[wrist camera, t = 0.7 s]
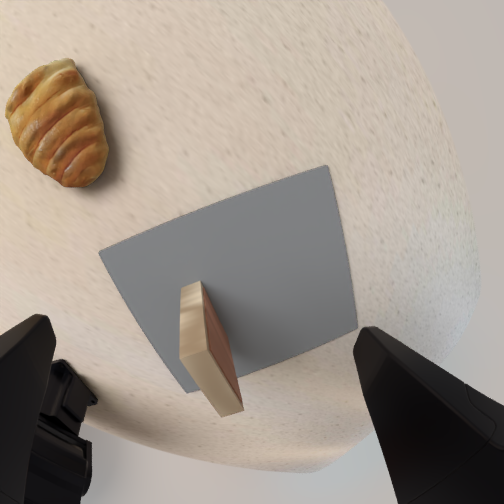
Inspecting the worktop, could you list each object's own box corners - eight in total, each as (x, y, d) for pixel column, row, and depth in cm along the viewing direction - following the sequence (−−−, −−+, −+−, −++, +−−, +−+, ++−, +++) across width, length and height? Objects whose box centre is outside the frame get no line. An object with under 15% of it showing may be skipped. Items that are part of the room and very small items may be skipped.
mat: (186, 390, 26) (186, 393, 26) (99, 250, 20) (98, 252, 19) (356, 325, 27) (357, 328, 27) (325, 165, 21) (327, 165, 20)
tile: (210, 344, 24) (221, 417, 17) (180, 287, 22) (179, 358, 14) (228, 337, 24) (245, 410, 17) (201, 280, 22) (208, 348, 15)
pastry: (136, 147, 18) (123, 149, 15) (69, 206, 18) (47, 220, 15) (73, 55, 14) (51, 41, 11) (11, 117, 15) (-16, 116, 11)
